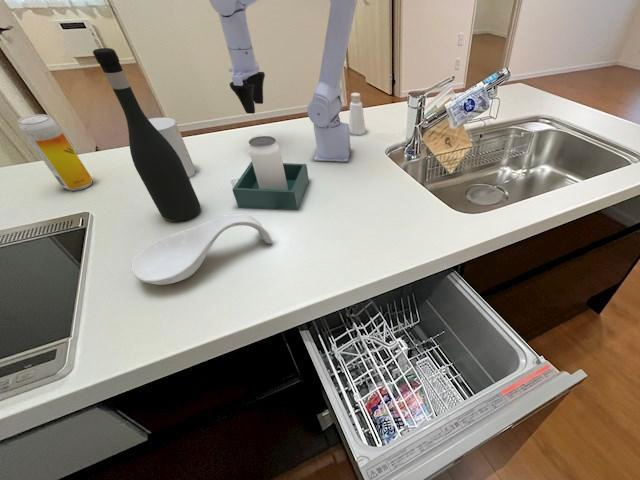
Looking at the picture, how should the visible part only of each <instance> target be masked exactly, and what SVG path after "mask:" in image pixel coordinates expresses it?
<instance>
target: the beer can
mask: <svg viewBox="0 0 640 480" xmlns="http://www.w3.org/2000/svg"><path fill="white" fill-rule="evenodd" d="M17 123H18V128H19V130H20V131H21V133H22V134H23V135H24V137H25V138H26V139H27V140H28V142H29V144H30V145H31V146H32V148H33V149H34V150H35V152H36V153H37V154H38V156H39V157H40V159H41V160H42V161H43V162H44V164H45V166H46V167H47V168H48V170H49V171H50V172H51V173H52V175H53V177H55V179H56V180H57V182H58V183H59V184H60V186H61V187H62V188H64V189H67V191H73V192H75V191H80V190H84V189H87V188H89V187H91V185H92V184H93V182H92V181H93V177H92V176H91V174H90V172H89V171H88V170H87V168H86V166H85V165H84V163H83V162H82V160H81V159H80V158H79V156H78V154H77V153H76V151H75V150H74V148H73V146H72V145H71V143H70V142H69V140H68V138H66V136H65V134H64V133H63V131H62V129H61V128H60V127H59V125H58V123H57V122H56V120H54V118H52V117H51V116H50V115H48V114H43V113H40V114H39V113H38V114H31V115H26V116H23V117H21V118H19V119H17Z"/></svg>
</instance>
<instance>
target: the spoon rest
mask: <svg viewBox="0 0 640 480" xmlns="http://www.w3.org/2000/svg"><path fill="white" fill-rule="evenodd" d="M237 226H247V227H251V228H253V229H255V230H256V231H257V232H258V234H259V236H260V238H261V240H263V241H264V242H265V243H266V244H270V245H271V244H273V240H272V238H271V236H270V234H269V232H268V231H267V230H266V229H265V227H263V224H261V222H260V221H259V220H258V219H256V218H255V217H253V216H252V215H249V214H245V213H244V214H242V213H229V214H224V215H220V216H217V217H214V218H212V219H209V220H206V221H205V222H202V223H200V224H197V225H195V226H192V227H190V228H187V229H185V230H181V231H177V232H176V233H173V234H171V235H167V236H165V237H162V238H159V239H157V240H155V241H152V242H151V243H149V244H147V245H146V246H144V247H143V248H142V249H140V251H138V253H136V254H135V256H134V257H133V259H132V261H131V265H130V267H131V268H130V269H131V273H132V275H133V276H134V277H135V278H136V279H137V280H139V281H141V282H144V283H146V284H151V285H159V286H160V285H161V286H162V285H163V286H165V285H172V284H175V283H178V282H181V281H184V280H187V279H189V278H190V277H192V276H194V274H196V272H197V271H198V269H199V268H200V267H201V265H202V264H203V263H204V260H205V258H206V257H207V255H208V254H209V251H210V249H211V248H212V247H213V244H214V243H215V241H217V239H218V237H220V236H221V234H222V233H223V232H225V231H226V230H228V229H230V228H233V227H237Z"/></svg>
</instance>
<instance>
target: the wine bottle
mask: <svg viewBox="0 0 640 480" xmlns="http://www.w3.org/2000/svg"><path fill="white" fill-rule="evenodd" d="M92 54H93V56H94V58H95V60H96V62H97V64H99V66H100V67H101V69H102V71H103V73H104V75H105V77H106V78H107V81H108V83H109V85H110V87H111V89H112V91H113V93H114V94H115V97H116V98H117V100H118V102H119V104H120V106H121V109H122V111H123V113H124V116H125V120H126V123H127V131H128V143H129V150H130V156H131V159H132V162H133V165H134V168H135V170H136V171H137V174H138V175H139V177H140V179H141V181H142V183H143V185H144V186H145V188H146V190H147V192H148V194H149V196H150V197H151V199H152V201H153V203H154V205H155V207H156V209H157V210H158V212H159V214H160V216H161V217H162V218H163V219H165V220H167V221H171V222H183V221H187V220H189V219H192V218H194V217H195V216H197V215H198V214H199V212H200V211H201V203H200V201H199V198H198V196H197V193H196V191H195V189H194V186H193V185H192V182H191V180H190V177H189V178H188V175H187V173H186V171H185V168H184V166H183V164H182V161H181V159H180V158H179V156H178V154H177V153H176V151H175V150H174V149H173V147H172V146H171V145H170V143H169V142H168V141H167V140H166V139H165V138H164V137H163V135H162V134H161V133H160V132H159V131H158V130H157V129H156V128H155V127H154V126H153V125H152V124H151V122H150V121H149V120H148V119H149V118H148V117H147V116H146V114H145V113H144V111H143V110H142V108H141V106H140V104H139V102H138V100H137V98H136V96H135V94H134V92H133V89H132V87H131V85H130V83H129V79H128V78H127V75H126V74H125V72H124V69H123V68H122V65H121V63H120V59H119V57H118V54H117V52H116V51H115V49H113V48H110V47H102V48H96V49H93V50H92Z"/></svg>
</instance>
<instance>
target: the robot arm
mask: <svg viewBox="0 0 640 480" xmlns="http://www.w3.org/2000/svg"><path fill="white" fill-rule="evenodd" d="M259 1H260V0H209V3H210V5H211V7H212V9H213V10H215V12H216V13H217V14H218V17H219V22H220V25H221V28H222V32H223V36H224V40H225V43H226V47H227V51H228V54H229V58H230V62H231V65H232V66H230V67H228V72H230V73H232V75H231V79H232V80H231V82H230V83H229V88H230V89H231V90H232V91H233V93H234V94H235V96H237V98H238V100H239V102H240V103H241V105H242V108H243V110H244V111H245V113H246V114H249V115H250V114H252V115H254V114H255V113H256V107H255V104H257V105H263V104H264V82H265V81H264V80H265V77H266V74H265V72H264V71H260V66H259V62H258V61H256V57H255V52H254V49H253V43H252V40H251V35H250V31H249V25H248V22H247V21H248V20H247V18H248V17H247V13H246V12H247V8H248V7H250V6H252V5H254V4H255V3H257V2H259ZM328 1H329V3H330V8H329V14H328V19H327V26H326V33H325V38H324V44H323V51H322V59H321V65H320V71H319V77H318V82H317V84H316V86H315V89H314V91H313V95H312V99H311V101H310V102H309V103H308V104H307V108H306V110H307V111H306V112H307V116H308V118H309V119H310V121H311V123H312V124H313V132H314V139H315V145H316V152H315V155H314V157H313V160H314V161H320V162H343V163H347V162H349V159H350V155H351V151H352V147H351V136H350V135H351V133H350V132H349V123H347V122H342V121H341V118H340V113H341V112H342V109H343V101H342V92H343V90H342V88H341V81H342V76H343V71H344V67H345V63H346V62H345V61H346V58H347V57H346V56H347V51H348V47H349V42H350V36H351V32H352V27H353V22H354V16H355V12H356V7H357V0H328Z"/></svg>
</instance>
